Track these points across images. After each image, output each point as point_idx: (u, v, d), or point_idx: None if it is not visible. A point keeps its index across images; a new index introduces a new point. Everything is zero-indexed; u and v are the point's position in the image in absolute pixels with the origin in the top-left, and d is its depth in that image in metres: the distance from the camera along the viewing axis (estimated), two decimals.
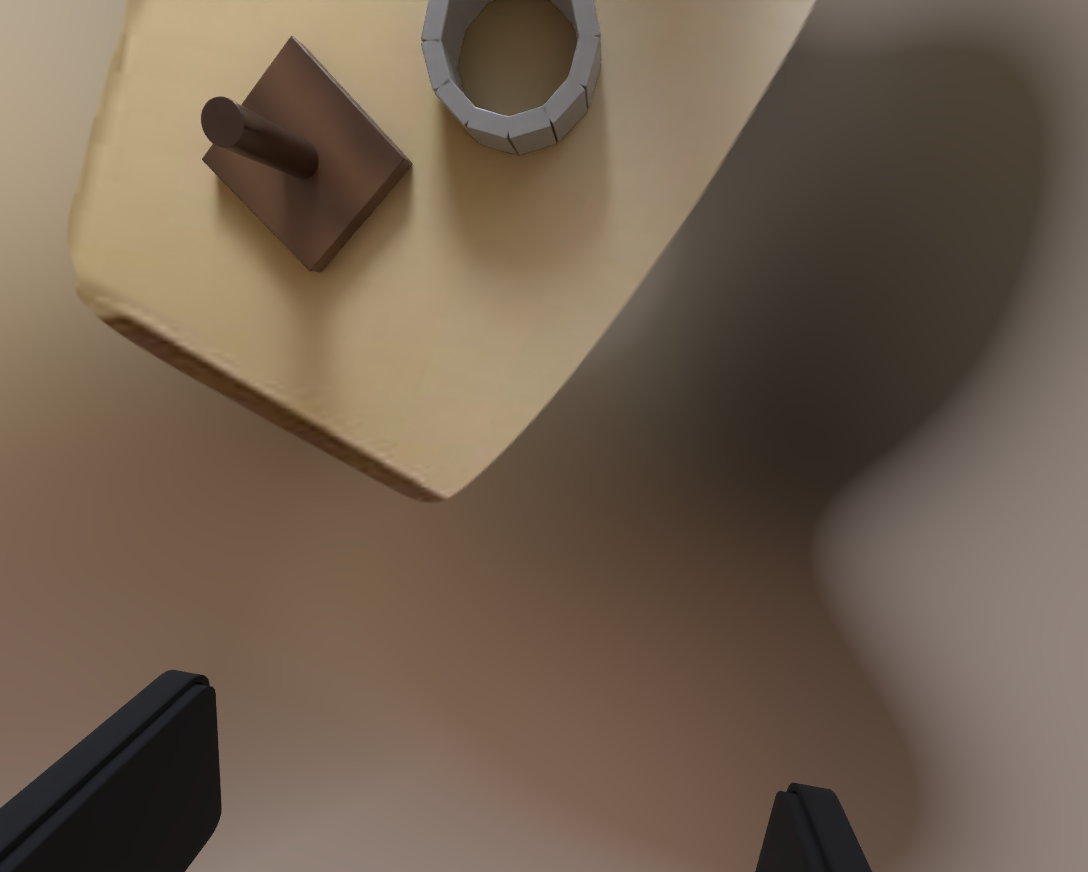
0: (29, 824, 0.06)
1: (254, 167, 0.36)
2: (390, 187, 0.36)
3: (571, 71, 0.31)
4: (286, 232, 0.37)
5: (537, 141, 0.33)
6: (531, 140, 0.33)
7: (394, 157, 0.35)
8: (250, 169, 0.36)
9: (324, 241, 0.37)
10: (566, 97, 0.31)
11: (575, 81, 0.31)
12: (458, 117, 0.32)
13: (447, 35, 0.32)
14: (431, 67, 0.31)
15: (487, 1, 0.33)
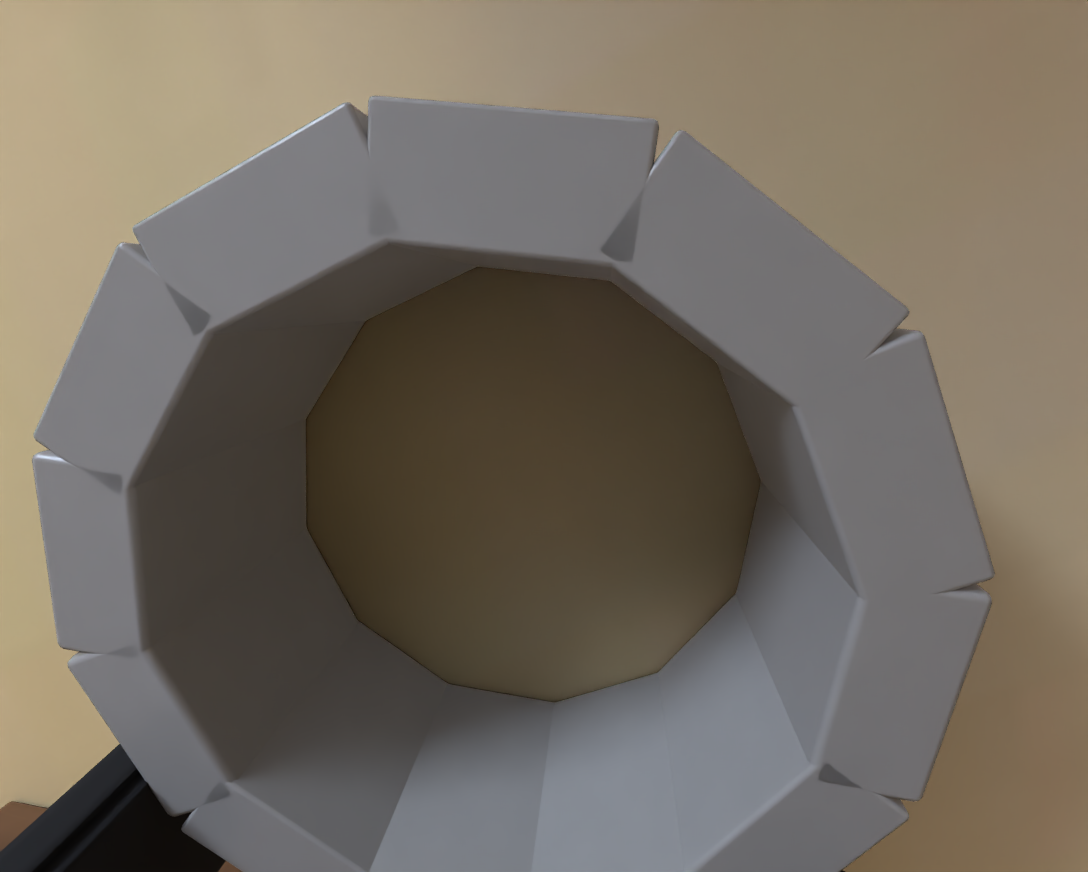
0: (99, 803, 0.06)
1: None
2: None
3: (862, 569, 0.05)
4: None
5: None
6: None
7: None
8: None
9: None
10: (914, 679, 0.05)
11: (917, 594, 0.05)
12: None
13: (249, 697, 0.07)
14: None
15: (300, 420, 0.09)
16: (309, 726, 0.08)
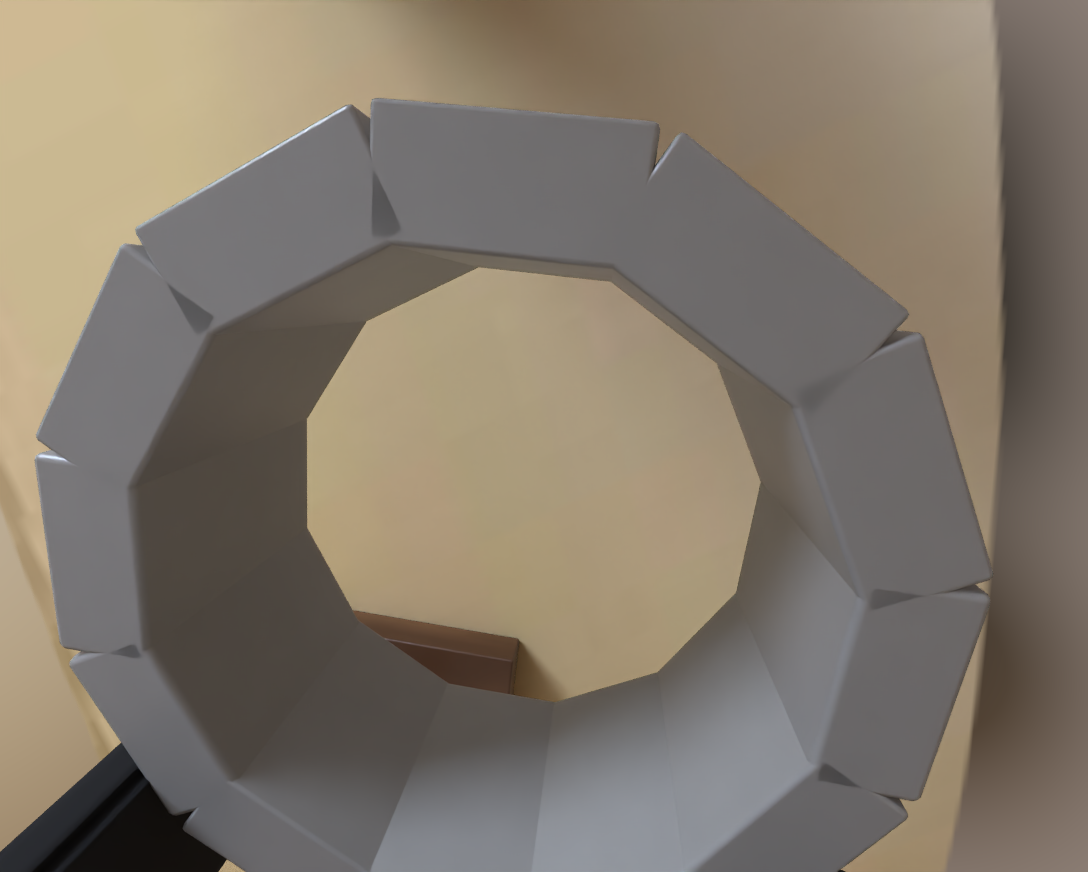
0: (99, 803, 0.06)
1: None
2: (512, 689, 0.22)
3: (860, 571, 0.05)
4: None
5: None
6: None
7: (497, 669, 0.20)
8: None
9: None
10: (913, 679, 0.05)
11: (916, 595, 0.05)
12: None
13: (251, 697, 0.07)
14: None
15: (301, 419, 0.09)
16: (310, 725, 0.08)
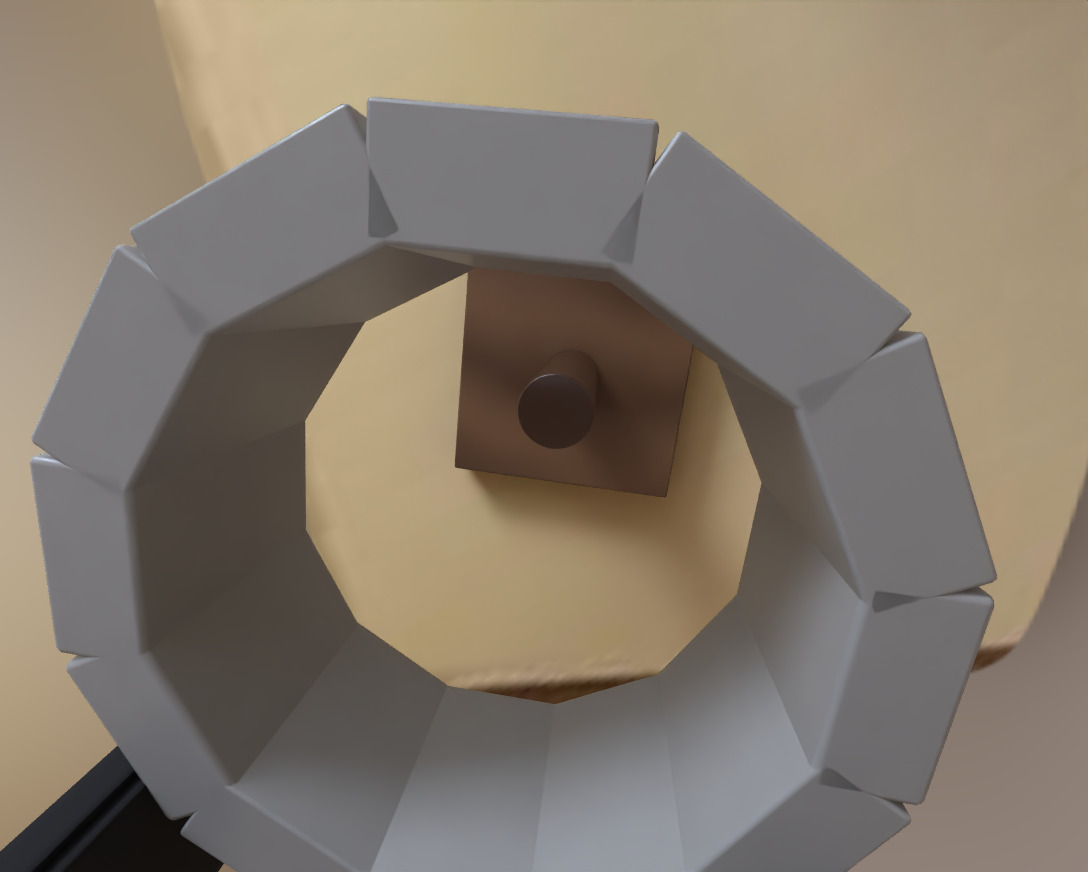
0: (99, 803, 0.06)
1: (521, 430, 0.25)
2: None
3: (863, 573, 0.05)
4: (607, 474, 0.25)
5: None
6: None
7: None
8: (518, 435, 0.25)
9: (663, 449, 0.24)
10: (916, 682, 0.05)
11: (919, 597, 0.05)
12: None
13: (249, 700, 0.07)
14: None
15: (299, 421, 0.09)
16: (309, 729, 0.08)
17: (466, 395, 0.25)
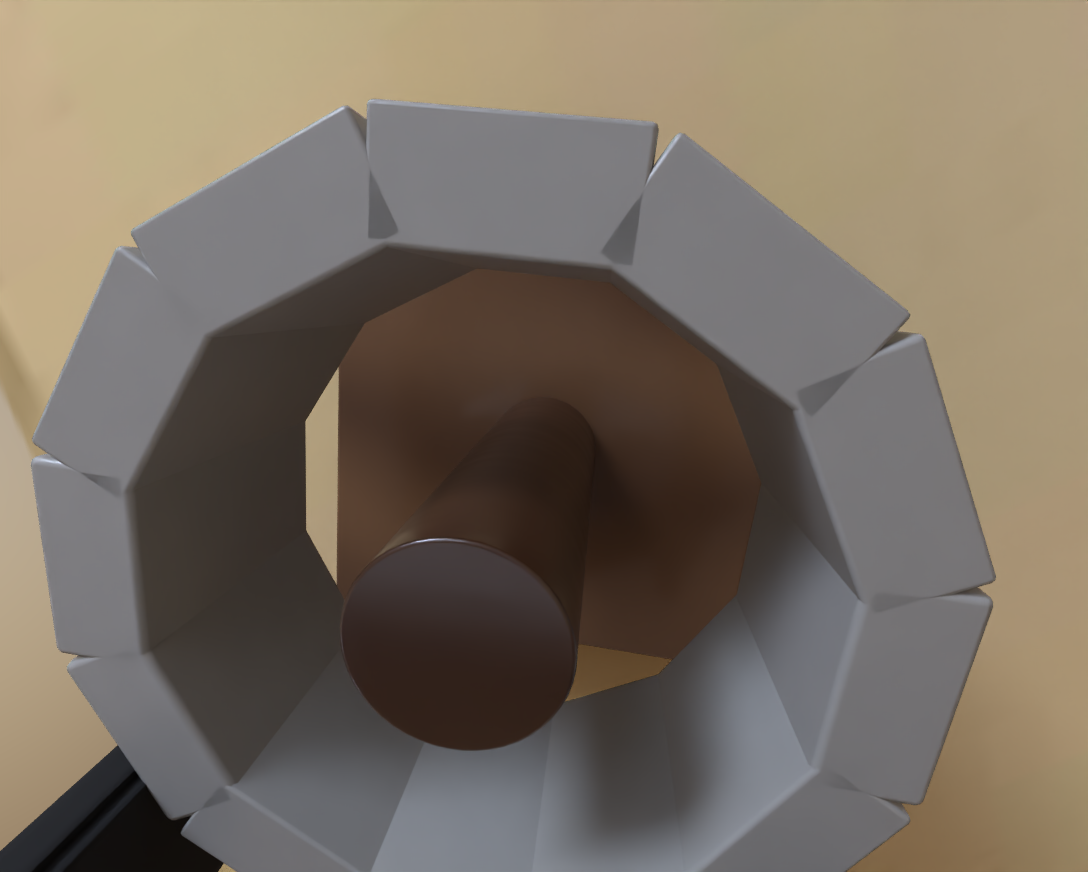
0: (98, 803, 0.06)
1: None
2: None
3: (863, 573, 0.05)
4: (612, 625, 0.13)
5: None
6: None
7: None
8: None
9: (717, 584, 0.13)
10: (915, 682, 0.05)
11: (918, 598, 0.05)
12: None
13: (249, 701, 0.07)
14: None
15: (299, 422, 0.09)
16: (309, 729, 0.08)
17: (349, 479, 0.13)
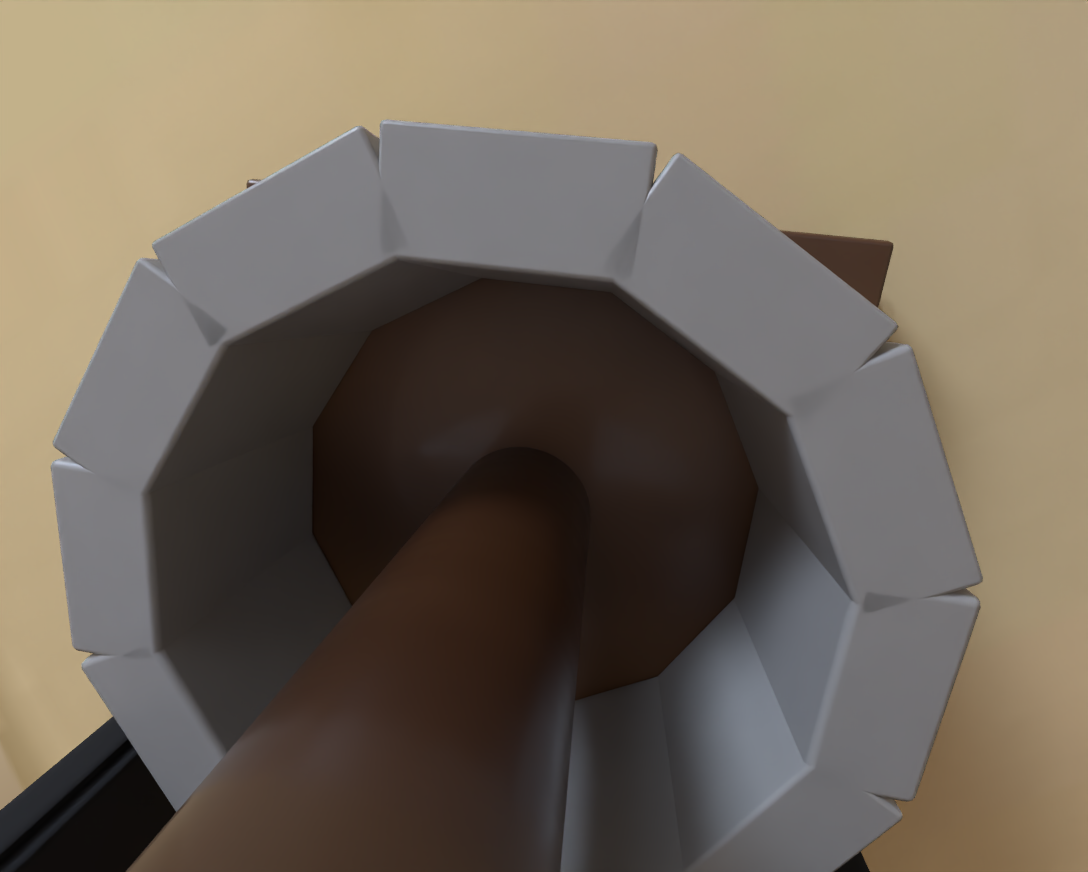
0: (34, 822, 0.06)
1: None
2: None
3: (853, 574, 0.05)
4: None
5: None
6: None
7: (850, 270, 0.08)
8: None
9: None
10: (906, 681, 0.06)
11: (908, 598, 0.05)
12: None
13: (257, 699, 0.08)
14: None
15: (307, 427, 0.09)
16: None
17: None
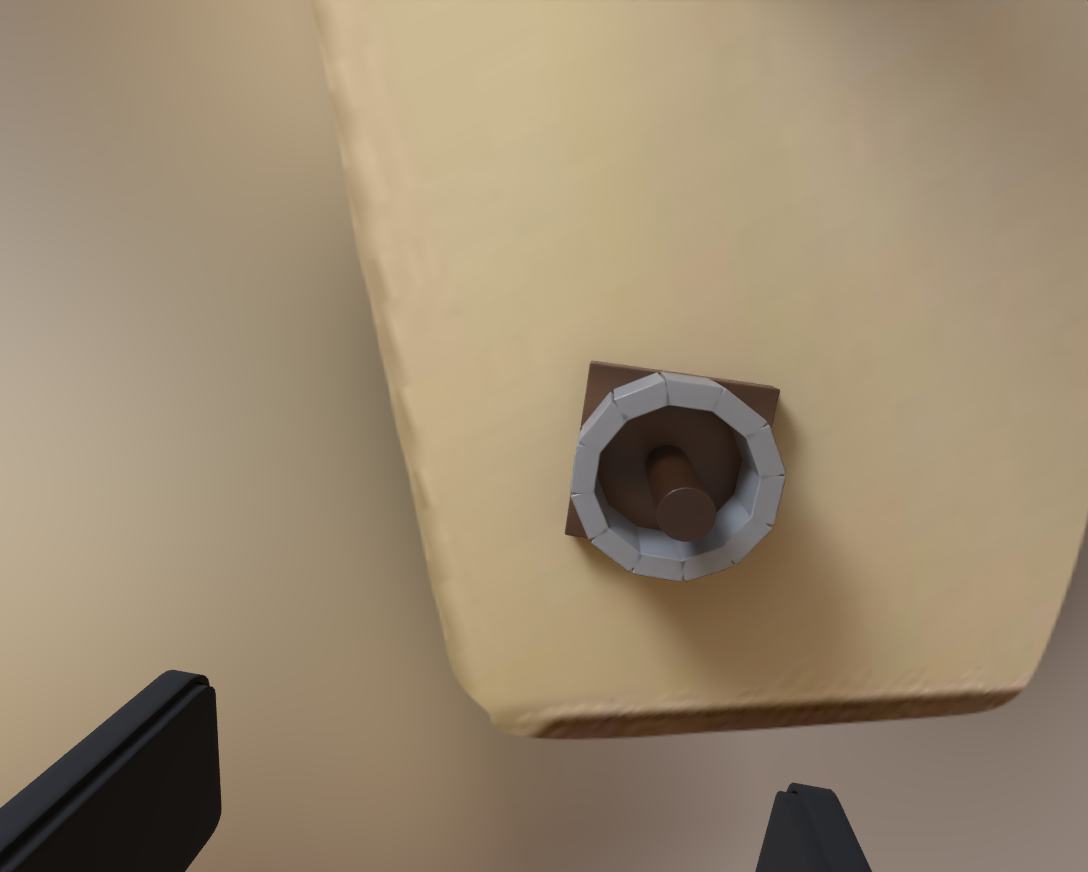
0: (29, 824, 0.06)
1: (622, 506, 0.31)
2: None
3: (759, 471, 0.26)
4: None
5: None
6: None
7: (768, 396, 0.28)
8: (620, 510, 0.31)
9: None
10: (771, 495, 0.26)
11: (770, 476, 0.26)
12: (671, 578, 0.27)
13: (604, 511, 0.28)
14: (615, 555, 0.27)
15: None
16: (614, 523, 0.28)
17: None
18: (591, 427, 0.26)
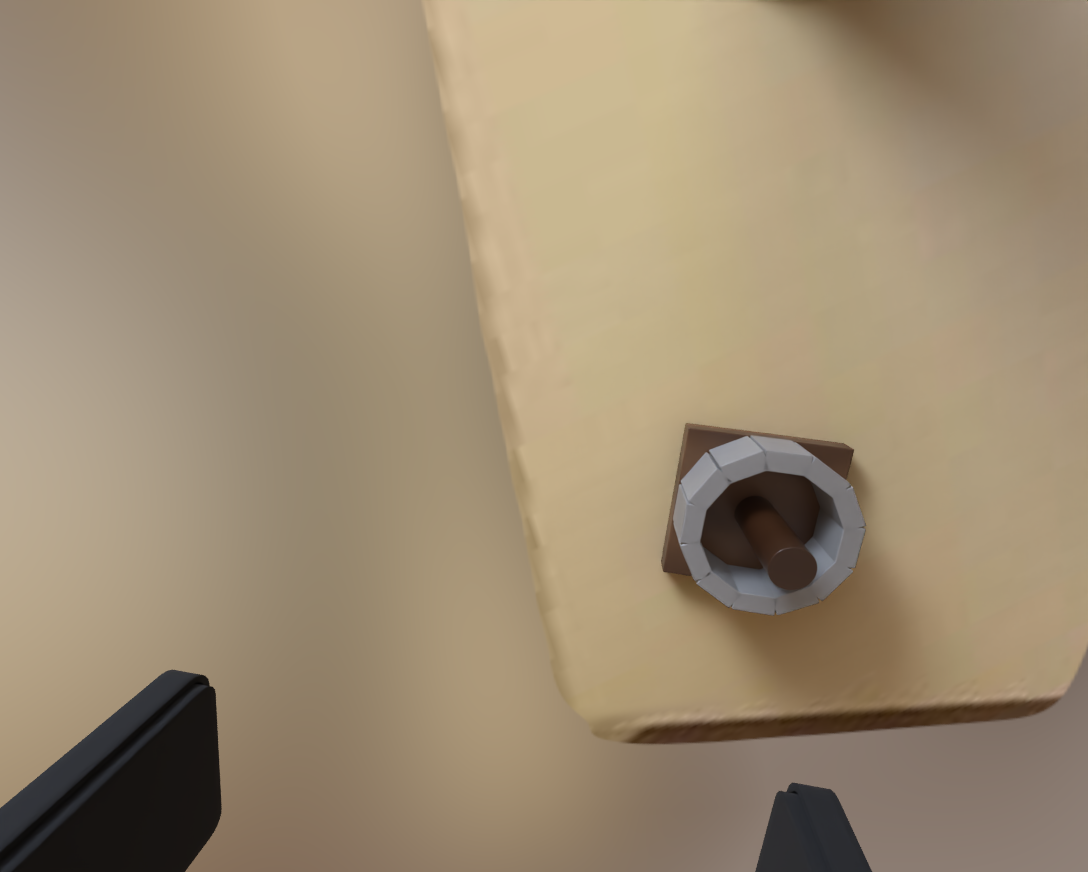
0: (29, 824, 0.06)
1: (714, 548, 0.36)
2: None
3: (843, 524, 0.31)
4: None
5: None
6: None
7: (843, 455, 0.33)
8: (712, 551, 0.36)
9: None
10: (853, 544, 0.31)
11: (853, 528, 0.31)
12: (765, 613, 0.32)
13: (706, 557, 0.33)
14: (717, 594, 0.32)
15: None
16: (713, 565, 0.33)
17: None
18: (699, 489, 0.31)
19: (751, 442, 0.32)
